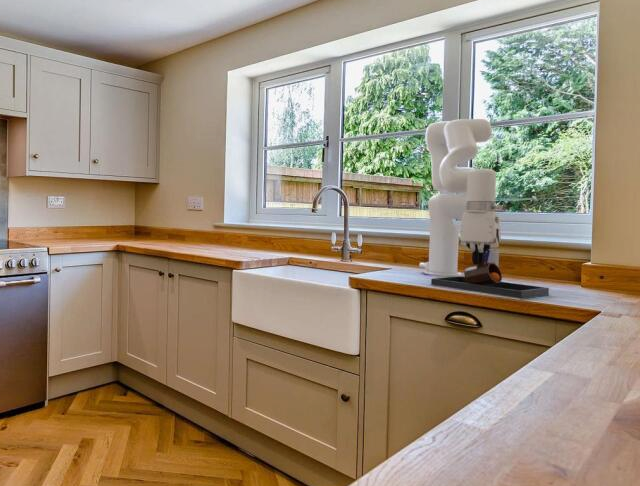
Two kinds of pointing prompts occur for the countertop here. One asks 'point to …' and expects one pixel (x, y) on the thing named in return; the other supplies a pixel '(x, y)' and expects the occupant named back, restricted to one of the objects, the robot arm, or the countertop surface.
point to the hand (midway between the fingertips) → (478, 264)
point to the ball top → (495, 276)
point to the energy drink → (492, 256)
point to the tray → (493, 287)
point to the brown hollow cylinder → (482, 274)
